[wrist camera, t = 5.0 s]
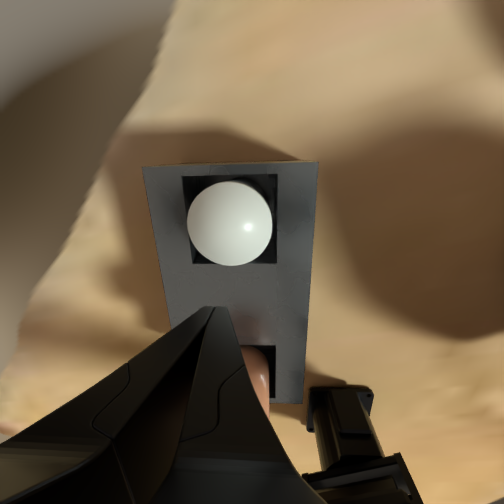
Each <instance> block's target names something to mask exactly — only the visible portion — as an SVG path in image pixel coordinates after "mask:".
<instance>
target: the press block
mask: <svg viewBox="0 0 504 504" xmlns="http://www.w3.org/2000/svg"><path fill="white" fill-rule="evenodd" d="M318 163H319V162H314V161H305V160H292V161H258V162H224V163H190V164H171V165H159V166H148V167H142V171H143V177H144V182H145V188H146V193H147V199H148V204H149V209H150V215H151V220H152V226H153V231H154V237H155V242H156V248H157V253H158V259H159V264H160V270H161V275H162V281H163V286H164V292H165V297H166V302H167V308H168V313H169V319H170V324H171V330H172V329H173V328H174V327H176V326H177V325H179V324H180V323H181V322H183V321H184V320H185V319H187V318H188V317H190V316H191V315H192V314H194V313H195V312H196V311H198V310H199V309H201V308H202V307H203V306H215V307H216V306H227V308H228V311H229V314H230V317H231V320H232V323H233V326H234V330H235V333H236V336H237V339H238V342H239V345H249V346H252V347H255V348H256V349H258V350H260V351H261V352H262V353H263V354H264V355H265V357H266V358H267V360H268V364H269V403H291V404H302V402H303V387H304V372H305V357H306V342H307V327H308V312H309V297H310V282H311V268H312V253H313V238H314V223H315V208H316V193H317V178H318ZM233 178H246V179H249V180H251V181H253V182H255V183H256V184H258V185H259V186H260V187H261V189H262V190H263V191H264V193H265V196H266V198H267V204H268V206H269V209H270V212H271V217H272V234H271V238H270V241H269V243H268V245H267V247H266V248H265V250H264V251H263V252H262V253H261V254H260V255H259V256H258V257H257V258H255V259H254V260H252V261H250V262H248V263H245V264H242V265H236V266H227V265H221V264H218V263H215V262H213V261H211V260H209V259H207V258H206V257H205V256H203V255H202V254H201V253H200V252H199V251H198V250H197V249H196V247H195V246H194V244H193V243H192V241H191V239H190V236H189V233H188V228H187V217H188V212H189V209H190V206H191V204H192V202H193V201H194V199H195V198H196V197H197V196H198V195H199V194H200V193H201V192H202V191H203V190H205V189H206V188H208V187H210V186H212V185H214V184H216V183H219V182H223V181H227V180H230V179H233Z"/></svg>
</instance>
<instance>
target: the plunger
mask: <svg viewBox="0 0 504 504" xmlns="http://www.w3.org/2000/svg"><path fill="white" fill-rule="evenodd" d="M187 228H188V233H189V236H190V239H191V241H192V243H193V244H194V246H195V247H196V249H197V250H198V251H199V252H200V253H201V254H202V255H203V256H205V257H206V258H207V259H209V260H211V261H213V262H215V263H218V264H221V265H227V266H236V265H242V264H245V263H248V262H250V261H252V260H254V259H255V258H257V257H258V256H259V255H260V254H261V253H262V252H263V251H264V250H265V248H266V247H267V245H268V243H269V241H270V238H271V234H272V217H271V212H270V209H269V206H268V204H267V198H266V196H265V193H264V191H263V190H262V189H261V187H260V186H259V185H258V184H256V183H255V182H253V181H251V180H249V179H246V178H233V179H230V180H227V181H223V182H219V183H216V184H214V185H212V186H210V187H208V188H206V189H205V190H203V191H202V192H201V193H200V194H199V195H198V196H197V197H196V198H195V199H194V201H193V202H192V204H191V206H190V209H189V212H188V217H187Z"/></svg>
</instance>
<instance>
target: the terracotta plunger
mask: <svg viewBox="0 0 504 504" xmlns="http://www.w3.org/2000/svg"><path fill="white" fill-rule="evenodd" d="M240 348H241V352H242V355H243V358H244V361H245V364H246V367H247V370H248V373H249V376H250V379H251V382H252V384H253V387H254V390H255V392H256V394H257V396H258V399H259V401H260V403H261V405H262V407H263V409H264V411H265V413H266V415H267V417H268V419H269V364H268V360H267V358H266V357H265V355H264V354H263V353H262V352H261V351H260V350H258V349H256V348H255V347H252V346H249V345H240Z"/></svg>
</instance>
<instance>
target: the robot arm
mask: <svg viewBox="0 0 504 504" xmlns="http://www.w3.org/2000/svg"><path fill="white" fill-rule="evenodd" d="M373 398H374V394H373V392H372V390H371V389H361V388H321V387H312V388H310V389H309V395H308V408H307V420H306V428H307V431H308V432H311V433H315V436H316V442H317V447H318V453H319V458H320V464H321V470H322V471H319V472H315V473H310V474H308V473H304V474H302V477H301V476H300V474H299V473H298V472H297V470H296V469H295V467H294V466H293V464H292V462H291V461H290V459H289V457H288V456H287V454H286V452H285V450H284V448H283V446H282V444H281V442H280V440H279V438H278V437H277V435H276V433H275V431H274V429H273V427H272V425H271V423H270V421H269V419H268V417H267V415H266V413H265V411H264V409H263V407H262V405H261V403H260V401H259V399H258V396H257V394H256V392H255V390H254V387H253V384H252V382H251V379H250V376H249V373H248V370H247V367H246V364H245V361H244V358H243V355H242V352H241V348H240V345H239V342H238V339H237V336H236V333H235V330H234V326H233V323H232V320H231V317H230V314H229V311H228V308H227V306H216V307H215V306H203V307H202V308H201V309H199V310H198V311H196V312H195V313H194V314H192V315H191V316H190V317H188V318H187V319H185V320H184V321H183V322H181V323H180V324H179V325H177V326H176V327H174V328H173V329H172V330H170V331H169V332H168V333H166V334H165V335H163V336H162V337H161V338H159V339H158V340H157V341H155V342H154V343H152V344H151V345H150V346H148V347H147V348H146V349H144V350H143V351H141V352H140V353H139V354H137V355H136V356H135V357H133V358H132V359H130V360H129V361H128V363H125V364H123V365H122V366H121V367H119V368H118V369H117V370H115V371H114V372H112V373H111V374H110V375H108V376H107V377H105V378H104V379H102V380H101V381H100V382H98V383H97V384H95V385H94V386H92V387H91V388H89V389H87V390H86V391H84V392H83V393H81V394H80V395H78V396H77V397H75V398H74V399H72V400H70V401H69V402H67V403H66V404H64V405H62V406H61V407H59V408H58V409H56V410H55V411H53V412H51V413H50V414H48V415H47V416H45V417H43V418H42V419H40V420H39V421H37V422H36V423H34V424H32V425H31V426H29V427H28V428H26V429H24V430H23V431H21V432H20V433H18V434H16V435H15V436H13V437H11V438H10V439H8V440H6V441H5V442H3V443H1V444H0V504H424V503H423V501H422V499H421V497H420V495H419V492H418V490H417V488H416V486H415V484H414V482H413V479H412V477H411V475H410V473H409V471H408V469H407V466H406V464H405V462H404V460H403V458H402V456H401V453H400V452H399V453H394V455H392V456H388V457H385V455H384V453H383V450H382V448H381V445H380V443H379V440H378V437H377V435H376V432H375V430H374V427H373V425H372V422H371V420H370V417H369V416H370V412H371V407H372V402H373ZM408 494H410V495H408Z"/></svg>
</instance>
